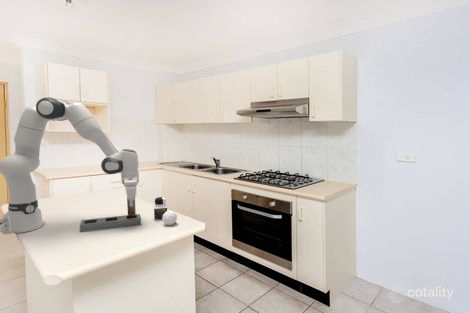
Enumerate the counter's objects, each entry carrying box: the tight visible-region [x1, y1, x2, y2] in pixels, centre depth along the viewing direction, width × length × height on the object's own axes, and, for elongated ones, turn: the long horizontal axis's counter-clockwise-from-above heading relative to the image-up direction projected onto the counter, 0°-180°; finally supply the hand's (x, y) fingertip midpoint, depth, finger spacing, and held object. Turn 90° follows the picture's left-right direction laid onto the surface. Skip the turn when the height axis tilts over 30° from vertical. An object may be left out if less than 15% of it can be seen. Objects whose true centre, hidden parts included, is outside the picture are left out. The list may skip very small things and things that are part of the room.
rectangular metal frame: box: [79, 213, 142, 233], centre depth 152 cm, size 29×9×4 cm, turn 112°
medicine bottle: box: [153, 196, 168, 221], centre depth 164 cm, size 7×7×12 cm
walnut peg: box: [126, 198, 137, 216], centre depth 155 cm, size 4×4×12 cm
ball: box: [161, 210, 178, 226], centre depth 153 cm, size 8×8×8 cm
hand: (131, 204), depth 155 cm, fingers closed on walnut peg, 4 cm apart
